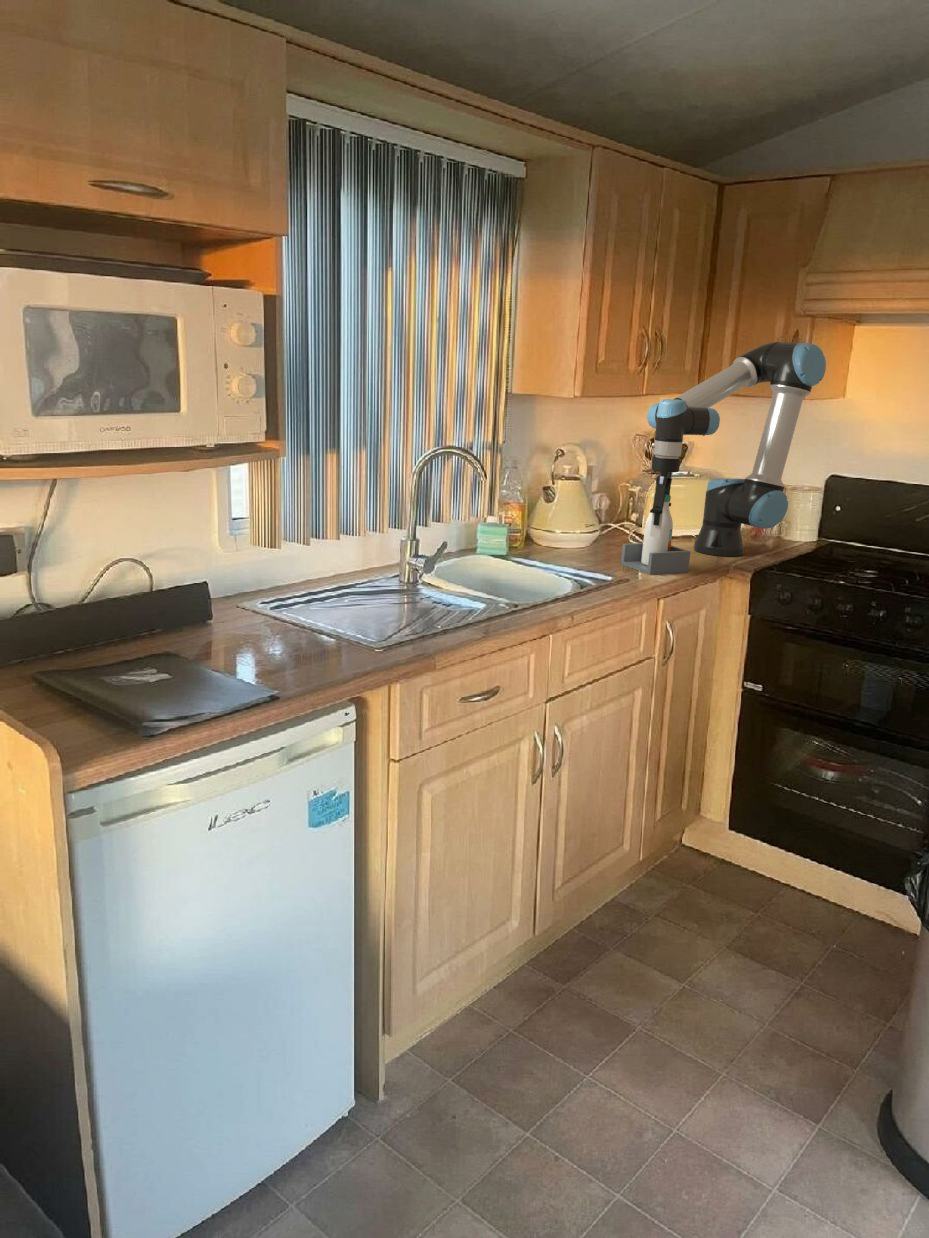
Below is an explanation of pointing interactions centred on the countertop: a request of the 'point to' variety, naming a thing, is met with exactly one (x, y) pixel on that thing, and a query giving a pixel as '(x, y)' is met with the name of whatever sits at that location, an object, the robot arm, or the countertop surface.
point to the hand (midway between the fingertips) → (658, 532)
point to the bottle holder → (656, 559)
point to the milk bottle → (665, 538)
